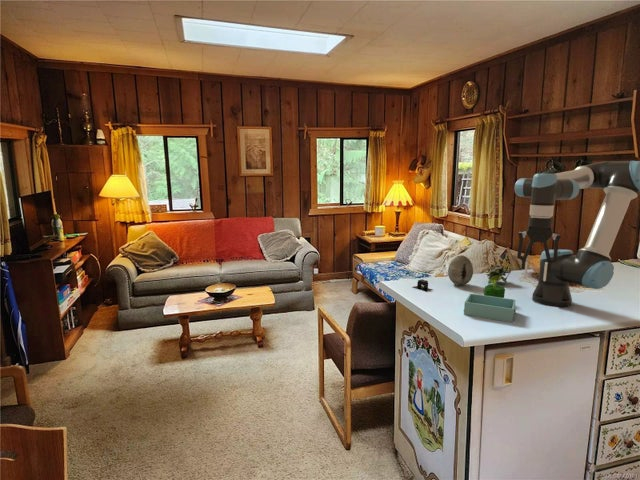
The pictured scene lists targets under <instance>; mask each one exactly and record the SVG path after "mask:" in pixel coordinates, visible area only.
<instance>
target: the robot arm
mask: <svg viewBox="0 0 640 480" xmlns="http://www.w3.org/2000/svg"><path fill="white" fill-rule="evenodd" d="M580 189H581V190H582V189H583V190H584V189H597V190H599V189H601V190H603V192H604V193H605V196H604V198H603V201H602V203H601V206H600V207H599V208H600V209H599V211H598V213H597V215H596V218H595V221H594V222H593V225H592V228H591V230H590V233H589V235H588V237H587V241H586V242H585V245H584V247H582V248H580V249H578V250H577V253H576V255H575V254H574V252H573V250H572V249H559V242H560V239H561V235H560V234H559V233H558V234H557V233H554V232H553V230H552V229H553V218H552V217H553V216H554V210H555V209H554V208H555V201H563V200H564V201H567V200H573V199H574V198H576V197H577V196H578V195H579V193H580ZM514 193H515V195H516V196H518V197H522V198H530V205H529V218H528V226H527V229H526V231H519V232H518V237H519V240H518V248H517V253H516V254H517V255H516V258H517V259H518V260H521V269H522V270H524V274H523V279H524V280H527V276H528V275H527V274H528V265H529V264H528V263H529V259H528V257H529V254H530V253H531V252H530V251H531V249H532V247H533V245H534V243H541V244H542V246H543V249H544V250H543V251H542V252H541V254H540V259H539V261H540V262H539V271H538V282H537V285H536V286H535V289H534V291H532V298H531V300H532V301H533V302H535V303H537V304H540V305H544V306H547V307H548V306H549V307H555V308H568V307H571V306H572V305H573V298H572V294H571V290H570V284H572V285H573V284H574V285H577V286H581V287H584V288H586V289H592V290H599V289H603V288H605V287H606V286H607V285H608V284H609V283H610V282H611V281H612V279H613V277H614V274H615V273H614V271H615V266H614V264H613V263H612V258H611V256H610V252H611V251H612V248H613V245H614V242H615V240H616V237H617V235H618V233H619V231H620V227H621V225H622V222H623V220H624V217H625V215H626V213H627V211H628V208H629V205H630V202H631V200H634V199H636V198H637V197H638V195H639V193H640V160H626V161H625V160H623V161H622V160H620V161H619V160H617V161H616V160H615V161H610V160H607V161H599V162H593V163H591V164H590V163H589V164H585V165H580V166H577V167H576V168H575V169H573V170H567V171H562V172H556V173H535V174H534V175H533V177H532V178H531V177H530V178H528V177H525V178H522V177H521V178H519V179H518V180H517V181H516V182H515V184H514ZM526 235H527V236H528V238H529V239H530V240H529V243H528V245H527V247H526V250H525V251H524V254H523V256H522V252H523V251H522V250H523V246H524V245H523V243H524V239H525V238H526ZM551 237H552V240H553V249H550V248H549V246H548V240H549V239H550V238H551ZM527 259H528V260H527Z"/></svg>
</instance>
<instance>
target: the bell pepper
mask: <svg viewBox="0 0 640 480" xmlns="http://www.w3.org/2000/svg"><path fill="white" fill-rule="evenodd" d="M505 292H506V289H505V286H501V285H498V284H497V282H496V280H494V283H493V285H492V283H489V284H487V285H485V286H484V288H483V295H485V296H493V297H500V298H505V296H506V295H505V294H506V293H505Z"/></svg>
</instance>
